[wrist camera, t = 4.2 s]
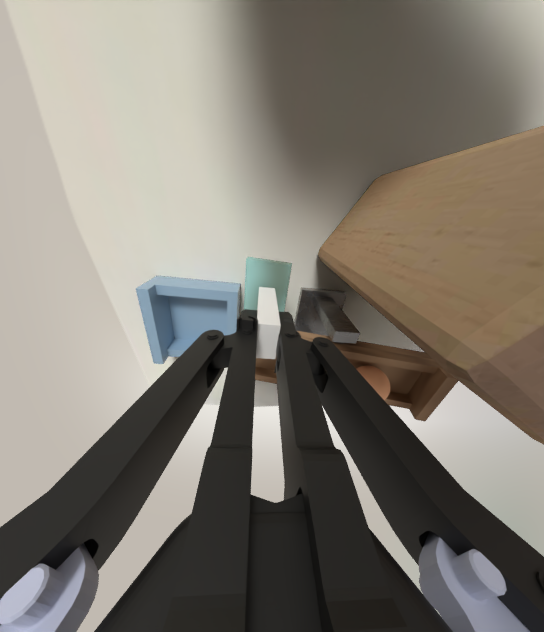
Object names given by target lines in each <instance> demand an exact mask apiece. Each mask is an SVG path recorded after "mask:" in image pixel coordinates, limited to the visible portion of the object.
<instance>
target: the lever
mask: <svg viewBox="0 0 544 632" xmlns="http://www.w3.org/2000/svg"><path fill="white" fill-rule="evenodd" d="M291 267H292V263H287V262H280V261H273V260H267V259H260V258H253V257H248V258H247V259H246V277H245V297H244V310H245V309H249V310H257V305H258V293H259V287H267V288H275V292H276V298H277V305H278V311H279V312H284V309H285V303H286V297H287V291H288V285H289V279H290V273H291ZM297 332H299V333H300V335H301V338H303V339H305V340H308V341H313V339H314V338H316V337H324V338H327V339H329V340H330V341H331V339H330V337H329V336H325V335H319V334H313V333H307V332H301V331H297ZM331 342H332V341H331ZM332 343H333V344H334V345H335V346H336V347H337V348H338V349H339V350H340V351H341V353H342V354H343V355H344V356H345V357H346V358H347V359H348V360H349V362H350V363H351V364H352V365H353V366H354V367H355V368H358V367H361V366H366V365H367V366H373V367H376V368H378V369H380V370H381V371H382V372H384V374H385V375H386V376H387V378H388V379H389V382H390V393H389V395H388V397H387V398H386V399H385V400H384V401H385V402H386V403H387V404H388V405H391V406H397V407H403V408H407V409H410V411H411V413H412V415H413V416H414V418H415V419H416V420H421V421H426V420H427V418H428V417H429V416H430V415H431V413H432V412H433V411H434V410H435V409H436V407H437V406H438V405H439V404H440V402H441V401H442V400H443V399H444V398H445V396H446V395H447V394H448V393H449V391H450V390H451V389H452V388H453V387H454V385H455V384H456V383H457V382H458V380H457V379H456V378H455V377H453V376H452V375H451V374H449V373H448V372H447V371H446V370H445V369H444V368H443V367H441V366H440V365H439V364H438V363H437V362H436V361H435V360H433V359H432V358H431V357H430V356H429V355H428V354H427V353H424V352H419V351H413V350H407V349H401V348H395V347H389V346H383V345H378V344H372V343H366V342H360V341H357V342H356V344H355V343H341V342H332ZM276 359H277V358H275V359H263V358H256V369H255V380H260V381H265V382H270V383H275V384H277V376H276V373H274V371H275V365H276Z"/></svg>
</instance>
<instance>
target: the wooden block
mask: <svg viewBox="0 0 544 632" xmlns="http://www.w3.org/2000/svg"><path fill="white" fill-rule="evenodd" d="M318 256H319V258H320V260H321V261H322V262H323V263H324V264H325V265H327V266H328V267H329V268H330V269H331V270H332V271H333V272H335V273H336V274H337V275H338V276H339V277H340V278H341V279H342V280H344V281H345V282H346V283H347V284H348V285H349V286H350V287H352V288H353V289H354V290H355V291H356V292H357V293H358V294H360V295H361V296H362V297H363V298H364V299H365V300H366V301H367V302H369V303H370V304H371V305H372V306H373V307H374V308H375V309H377V310H378V311H379V312H380V313H381V314H382V315H383V316H385V317H386V318H387V319H388V320H389V321H390V322H391V323H393V324H394V325H395V326H396V327H397V328H398V329H399V330H400V331H402V332H403V333H404V334H405V335H406V336H407V337H408V338H410V339H411V340H412V341H413V342H414V343H415V344H416V345H418V346H419V347H420V348H421V349H422V350H423V351H424V352H425V353H427V354H428V355H429V356H430V357H431V358H432V359H433V360H435V361H436V362H437V363H438V364H439V365H440V366H441V367H443V368H444V369H445V370H446V371H447V372H448V373H449V374H451V375H452V376H453V377H455V378H456V379H457V380H458V381H460V382H461V383H462V384H464V385H465V386H466V387H467V388H469V389H470V390H471V391H472V392H474V393H475V394H476V395H478V396H479V397H480V398H482V399H483V400H484V401H485V402H487V403H488V404H489V405H490V406H492V407H493V408H494V409H495V410H497V411H498V412H499V413H501V414H502V415H503V416H504V417H506V418H507V419H508V420H510V421H511V422H512V423H513V424H515V425H516V426H517V427H519V428H520V429H521V430H522V431H524V432H525V433H526V434H528V435H529V436H530V437H531V438H533V439H534V440H536V441H538V442H540V443H542V444H544V126H541V127H538V128H535V129H531V130H528V131H525V132H522V133H518V134H515V135H512V136H509V137H505V138H502V139H499V140H495V141H492V142H489V143H486V144H482V145H479V146H476V147H472V148H469V149H466V150H463V151H459V152H456V153H453V154H450V155H446V156H443V157H440V158H436V159H433V160H430V161H427V162H423V163H420V164H417V165H413V166H410V167H407V168H404V169H400V170H397V171H394V172H390V173H387V174H384V175H382V176H380V177H379V178H377V179H375V180H374V182H373V183H372V184H371V185H370V187H369V188H368V189H367V190H366V192H365V193H364V194H363V195H362V197H361V198H360V199H359V200H358V202H357V203H356V204H355V205H354V207H353V208H352V209H351V210H350V212H349V213H348V214H347V215H346V217H345V218H344V219H343V220H342V222H341V223H340V224H339V225H338V227H337V228H336V229H335V230H334V232H333V233H332V234H331V235H330V237H329V238H328V239H327V240H326V242H325V243H324V244H323V245H322V247H321V248H320V250H319V253H318Z"/></svg>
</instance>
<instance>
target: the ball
mask: <svg viewBox="0 0 544 632" xmlns="http://www.w3.org/2000/svg"><path fill="white" fill-rule="evenodd" d="M356 369H357V371H358V372H359V373H360V374H361V375H362V376H363V377H364V378H365V379H366V381H367V382H368V383H369V384H370V385H371V386H372V387H373V388H374V390H375V391H376V392H377V393H378V394H379V395H380V396H381V397H382V399H383V400H385V399H386V398H387V397H388V395H389V393H390V382H389V379H388V378H387V376H386V375H385V374H384V372H382V371H381V370H380V369H378V368H376V367H373V366H367V365H366V366H361V367H358V368H356Z"/></svg>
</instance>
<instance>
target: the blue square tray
mask: <svg viewBox="0 0 544 632" xmlns="http://www.w3.org/2000/svg"><path fill="white" fill-rule="evenodd" d="M240 285H241V284H237V283H227V282H217V281H206V280H196V279H186V278H176V277H165V276H156V277H154V278H152V279H151V280H149V281H147V282H146V283H144V284H142V285H141V286H139V287H137V288H136V292H137V296H138V300H139V304H140V308H141V312H142V317H143V321H144V325H145V329H146V333H147V337H148V341H149V346H150V350H151V354H152V358H153V362H154V363H157V364H164V362H165V361H166V359H167V358H168V356H172V357H180V356H181V355H182V354H183V353H184V352H185V351H186V350H187V349H188V348H189V347H190V346H191V345H192V344H193V342H194V341H195V340H196V339H197V338H198V337H199V336H200V335H201V334H202V333H204V332H205V331H208V330H219V331H221V332H222V333H223V334H224V335H230V334H233V333H235V332H236V326H237V318H238V317H239V311H240Z"/></svg>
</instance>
